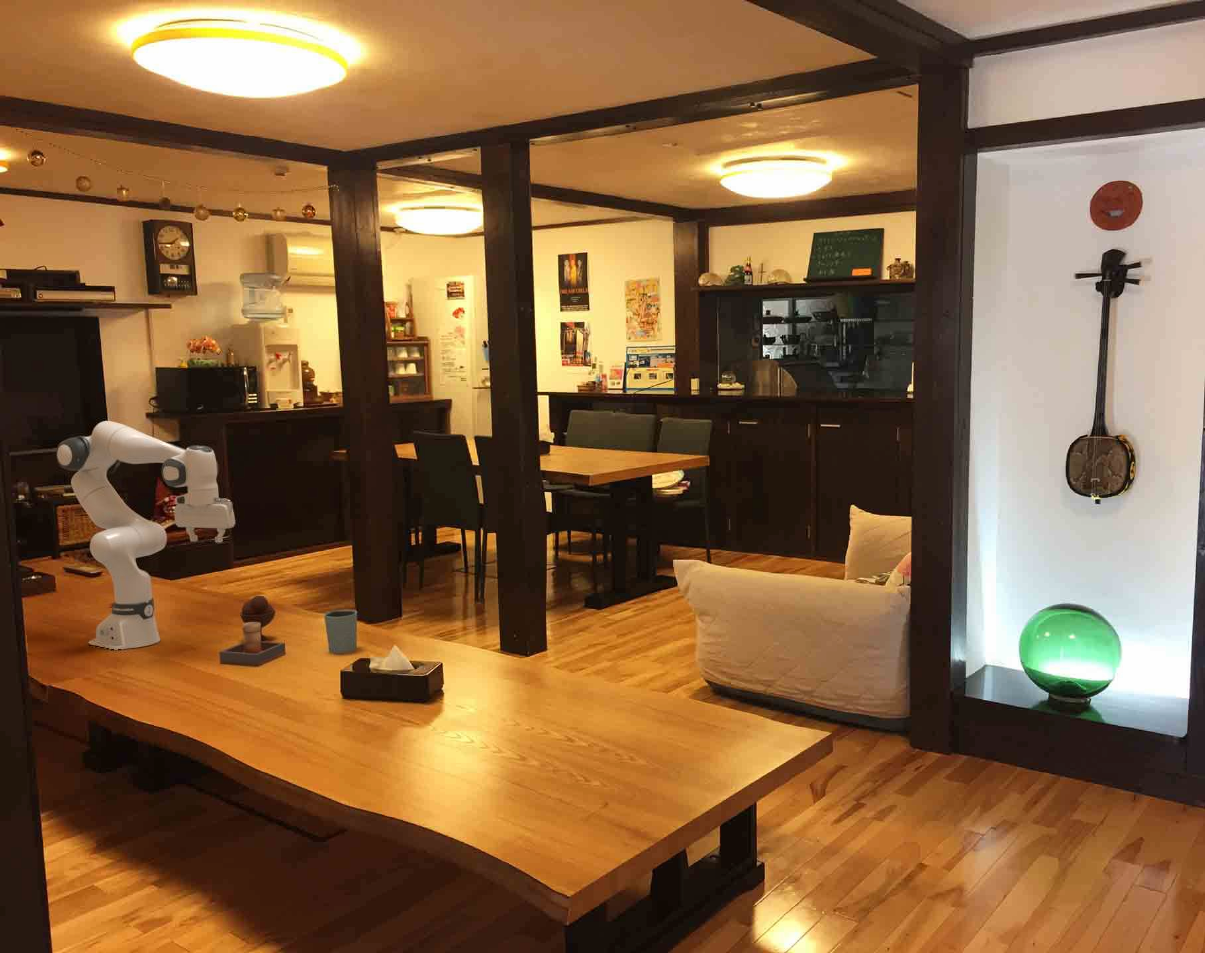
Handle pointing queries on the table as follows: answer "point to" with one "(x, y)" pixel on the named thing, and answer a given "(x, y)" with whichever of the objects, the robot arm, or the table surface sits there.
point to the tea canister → (252, 637)
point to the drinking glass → (341, 631)
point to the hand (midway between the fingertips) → (206, 541)
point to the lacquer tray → (240, 658)
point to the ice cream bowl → (258, 612)
